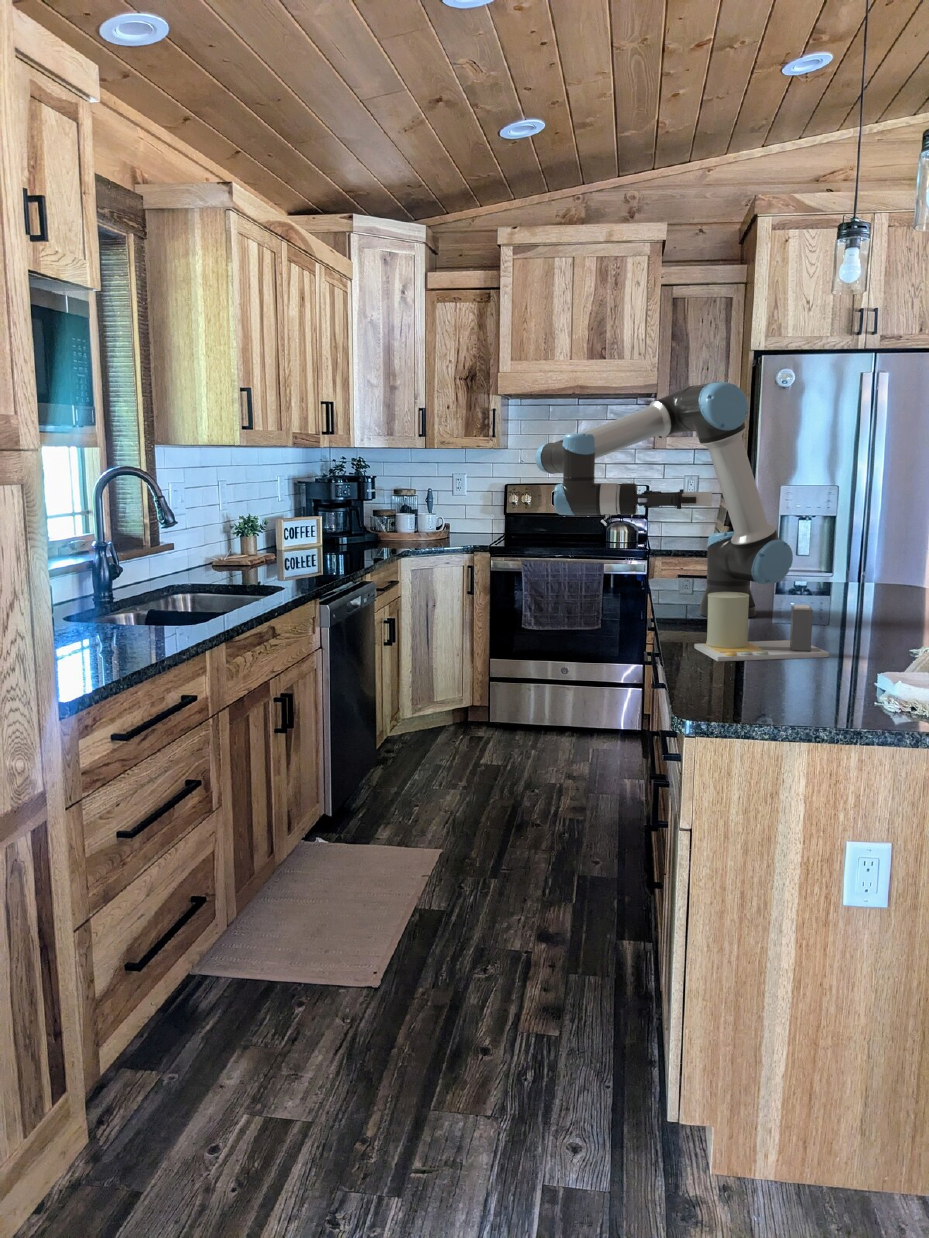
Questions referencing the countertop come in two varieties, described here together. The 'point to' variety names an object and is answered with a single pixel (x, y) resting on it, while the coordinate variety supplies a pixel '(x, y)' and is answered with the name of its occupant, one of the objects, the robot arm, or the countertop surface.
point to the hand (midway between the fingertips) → (711, 498)
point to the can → (727, 620)
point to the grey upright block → (801, 627)
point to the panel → (760, 651)
